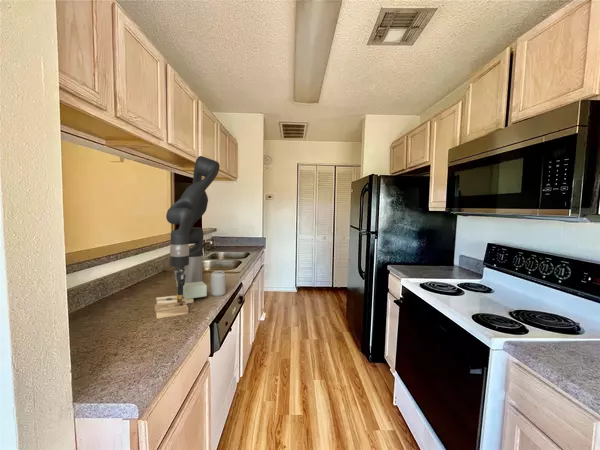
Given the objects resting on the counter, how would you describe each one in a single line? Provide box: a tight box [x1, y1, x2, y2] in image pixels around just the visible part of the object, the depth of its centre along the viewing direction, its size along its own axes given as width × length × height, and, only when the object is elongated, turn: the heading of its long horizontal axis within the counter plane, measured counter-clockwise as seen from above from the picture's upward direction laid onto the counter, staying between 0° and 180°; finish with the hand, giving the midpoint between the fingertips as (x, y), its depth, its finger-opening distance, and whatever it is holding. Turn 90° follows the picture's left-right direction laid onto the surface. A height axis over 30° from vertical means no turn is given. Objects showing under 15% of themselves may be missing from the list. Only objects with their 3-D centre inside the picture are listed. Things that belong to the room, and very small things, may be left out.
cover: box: [183, 280, 208, 299], centre depth 137 cm, size 8×10×5 cm
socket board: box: [154, 301, 189, 320], centre depth 120 cm, size 10×12×2 cm
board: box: [155, 294, 194, 305], centre depth 132 cm, size 10×15×4 cm, turn 122°
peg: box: [176, 282, 183, 303], centre depth 121 cm, size 2×2×9 cm
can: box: [210, 270, 227, 297], centre depth 145 cm, size 8×8×12 cm
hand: (179, 293), depth 121 cm, fingers closed on peg, 2 cm apart
